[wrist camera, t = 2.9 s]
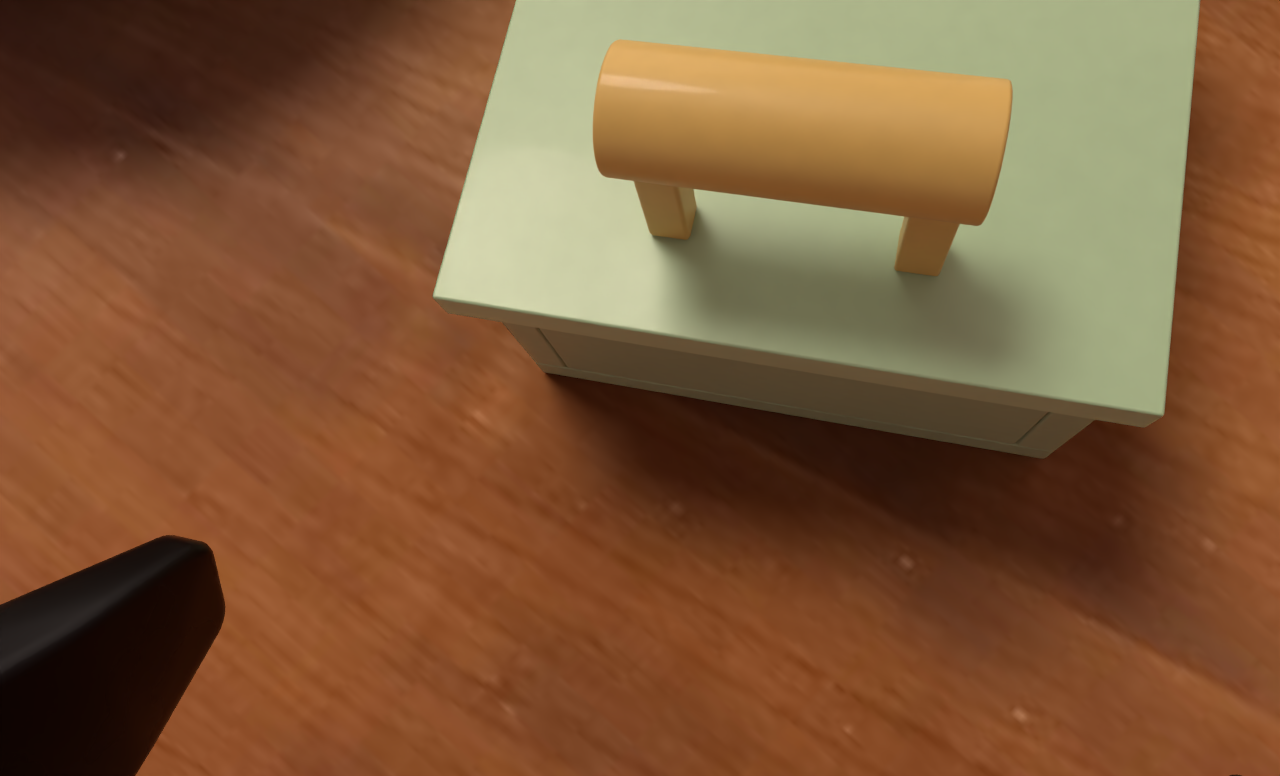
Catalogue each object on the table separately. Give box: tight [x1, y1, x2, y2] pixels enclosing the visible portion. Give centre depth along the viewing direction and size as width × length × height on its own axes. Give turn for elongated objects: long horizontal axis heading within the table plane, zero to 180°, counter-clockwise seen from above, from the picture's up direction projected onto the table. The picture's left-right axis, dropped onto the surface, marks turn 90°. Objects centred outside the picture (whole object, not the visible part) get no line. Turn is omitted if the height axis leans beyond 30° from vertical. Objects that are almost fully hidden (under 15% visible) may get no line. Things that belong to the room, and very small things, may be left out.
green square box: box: [502, 322, 1094, 459], centre depth 21 cm, size 12×12×6 cm
